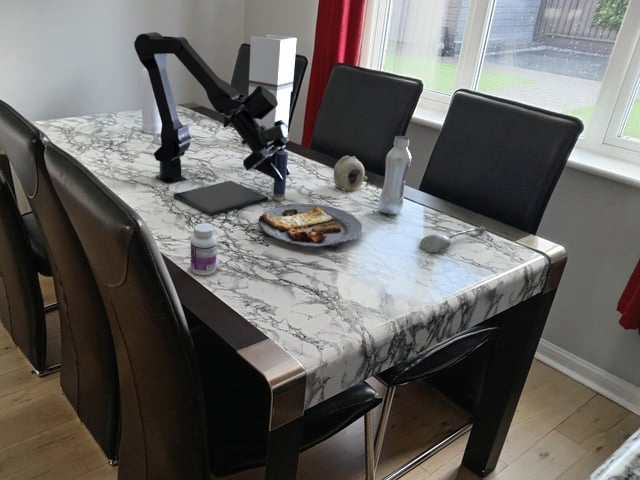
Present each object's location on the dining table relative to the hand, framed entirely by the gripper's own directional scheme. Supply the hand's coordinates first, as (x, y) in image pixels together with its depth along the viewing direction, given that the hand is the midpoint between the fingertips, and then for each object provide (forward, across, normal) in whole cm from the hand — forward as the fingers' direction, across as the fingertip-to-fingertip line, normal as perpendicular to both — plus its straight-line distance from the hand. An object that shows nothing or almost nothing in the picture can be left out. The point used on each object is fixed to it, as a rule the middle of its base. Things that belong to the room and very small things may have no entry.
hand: (285, 177), depth 155 cm
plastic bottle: (+24, +6, -15) cm, 29 cm away
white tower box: (-14, +53, +23) cm, 60 cm away
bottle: (-43, +42, +52) cm, 79 cm away
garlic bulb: (+14, +20, -5) cm, 25 cm away
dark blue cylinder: (+4, 0, +6) cm, 7 cm away
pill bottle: (+4, -47, +5) cm, 47 cm away
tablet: (-6, -8, +15) cm, 18 cm away
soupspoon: (+37, -5, -28) cm, 47 cm away
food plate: (+14, -17, -4) cm, 22 cm away
